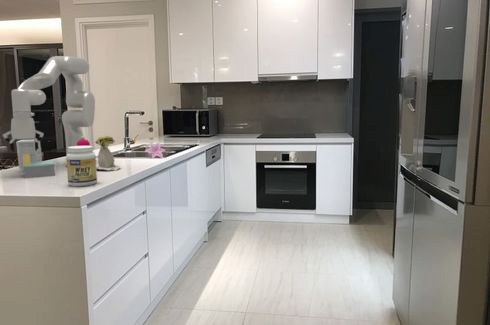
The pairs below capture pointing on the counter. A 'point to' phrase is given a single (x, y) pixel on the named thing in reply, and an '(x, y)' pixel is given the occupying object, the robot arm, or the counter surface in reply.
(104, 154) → the potted plant
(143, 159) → the counter surface
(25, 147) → the supplement box
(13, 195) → the counter surface
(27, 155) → the lid
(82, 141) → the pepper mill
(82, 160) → the supplement tub
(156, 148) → the lily
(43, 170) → the tub
